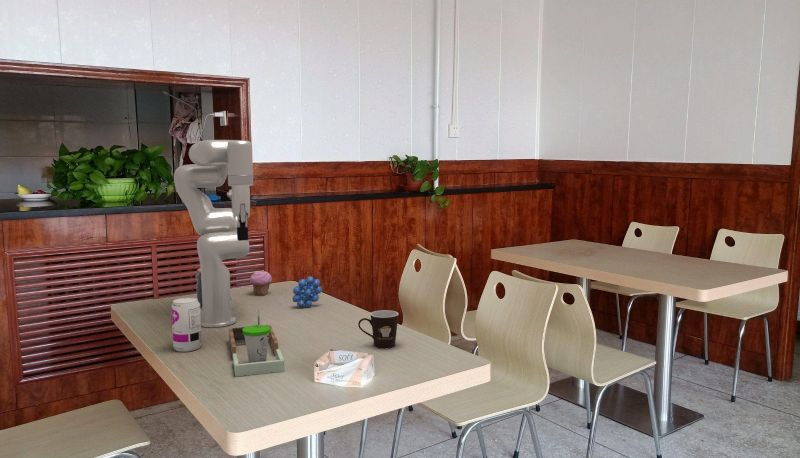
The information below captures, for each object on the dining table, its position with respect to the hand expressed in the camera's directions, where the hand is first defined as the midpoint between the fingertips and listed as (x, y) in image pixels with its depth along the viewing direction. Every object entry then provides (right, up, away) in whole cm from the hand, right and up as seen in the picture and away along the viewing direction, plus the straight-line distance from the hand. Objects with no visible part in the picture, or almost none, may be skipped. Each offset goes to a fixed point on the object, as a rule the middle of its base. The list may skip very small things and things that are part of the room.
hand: (242, 239), depth 195 cm
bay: (+10, -35, -21) cm, 42 cm away
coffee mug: (+43, -33, -1) cm, 54 cm away
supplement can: (-16, -33, -4) cm, 37 cm away
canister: (-24, -26, +50) cm, 61 cm away
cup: (+9, -35, -19) cm, 40 cm away
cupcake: (-9, -24, +67) cm, 72 cm away
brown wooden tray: (+4, -33, -4) cm, 33 cm away
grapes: (+13, -27, +46) cm, 55 cm away
